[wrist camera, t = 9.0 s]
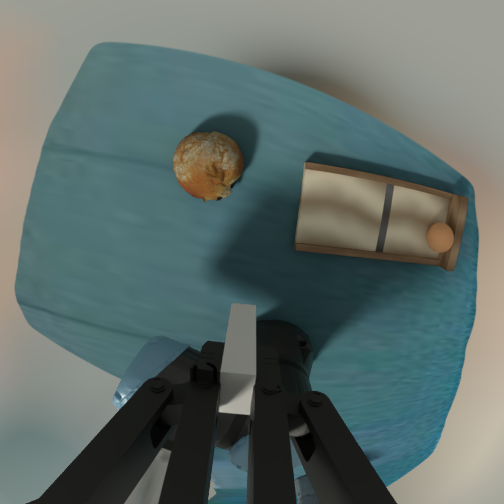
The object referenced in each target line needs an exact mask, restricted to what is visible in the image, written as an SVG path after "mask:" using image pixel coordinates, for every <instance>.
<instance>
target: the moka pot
mask: <svg viewBox="0 0 504 504" xmlns="http://www.w3.org/2000/svg"><path fill="white" fill-rule="evenodd" d="M294 483H295V488H296V493H297V498H298V504H320V502H319V500H318V498H317V496H316V494H315V491H314V489H313V487H312V485H311V483H310V481H309V479H308V476H307V475H306V476H301V477H299V478H297V479H296V480H295V481H294Z"/></svg>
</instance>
